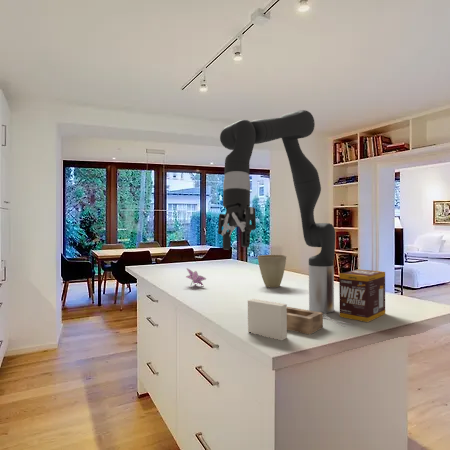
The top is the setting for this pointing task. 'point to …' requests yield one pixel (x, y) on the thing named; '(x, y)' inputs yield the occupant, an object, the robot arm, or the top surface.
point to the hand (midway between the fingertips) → (235, 248)
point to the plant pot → (272, 269)
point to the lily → (195, 277)
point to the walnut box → (304, 320)
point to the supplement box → (362, 294)
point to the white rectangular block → (267, 318)
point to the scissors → (333, 319)
